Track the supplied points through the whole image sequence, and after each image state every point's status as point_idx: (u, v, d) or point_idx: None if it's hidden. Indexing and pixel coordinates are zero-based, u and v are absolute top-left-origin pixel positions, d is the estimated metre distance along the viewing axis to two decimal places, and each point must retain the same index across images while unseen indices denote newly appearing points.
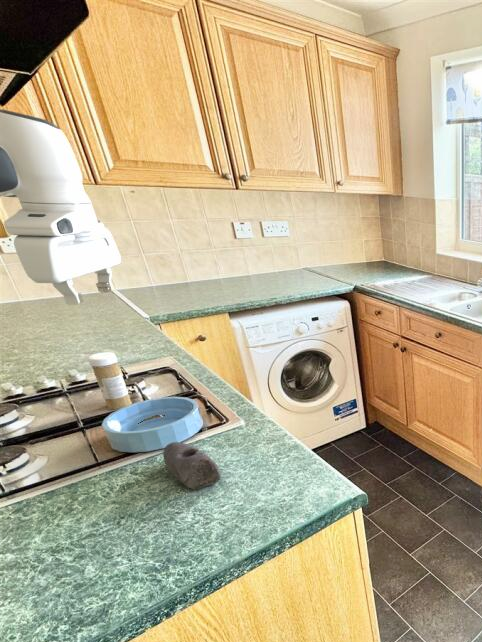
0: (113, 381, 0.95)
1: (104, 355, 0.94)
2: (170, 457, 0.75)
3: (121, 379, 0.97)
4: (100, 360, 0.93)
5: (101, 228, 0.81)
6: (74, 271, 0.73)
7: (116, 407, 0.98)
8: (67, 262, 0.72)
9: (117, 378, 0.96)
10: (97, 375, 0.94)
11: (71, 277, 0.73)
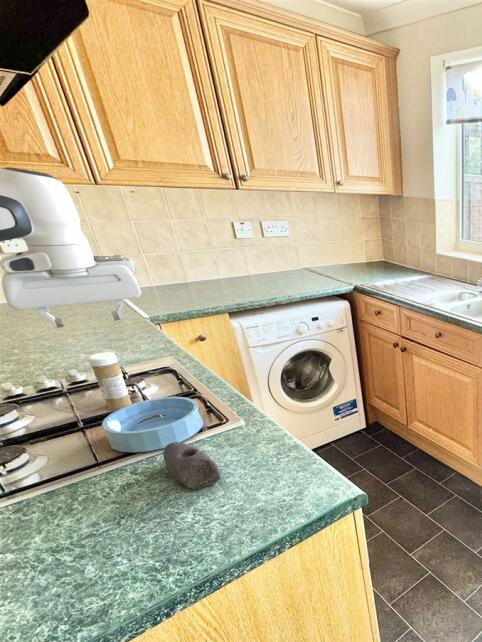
0: (113, 381, 0.95)
1: (104, 355, 0.94)
2: (170, 457, 0.75)
3: (121, 379, 0.97)
4: (100, 360, 0.93)
5: (112, 266, 0.89)
6: (45, 301, 0.84)
7: (116, 407, 0.98)
8: (35, 294, 0.83)
9: (117, 378, 0.96)
10: (97, 375, 0.94)
11: (38, 306, 0.84)
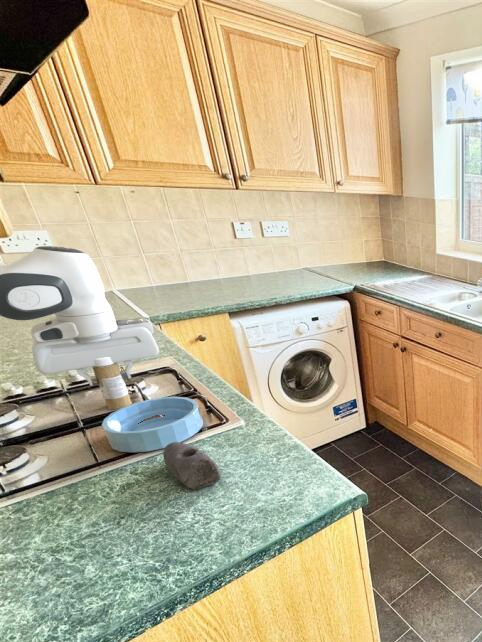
0: (113, 381, 0.95)
1: None
2: (170, 457, 0.75)
3: (121, 379, 0.97)
4: (100, 360, 0.93)
5: (133, 329, 0.95)
6: (70, 365, 0.90)
7: (116, 407, 0.98)
8: (62, 359, 0.89)
9: (117, 378, 0.96)
10: (97, 375, 0.94)
11: (65, 370, 0.90)
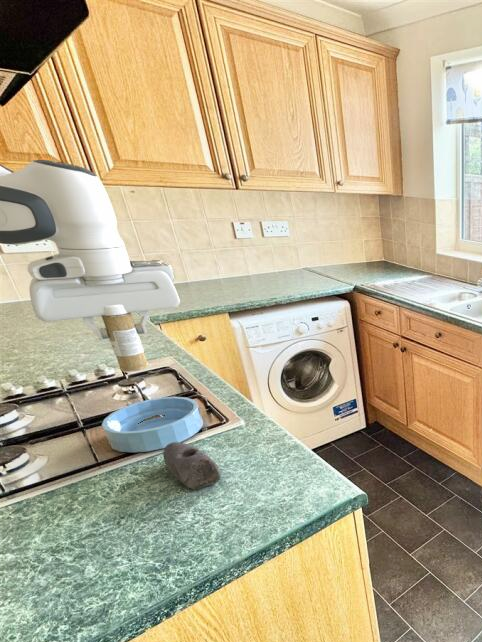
0: (126, 334, 0.80)
1: None
2: (170, 457, 0.75)
3: (136, 333, 0.82)
4: (112, 308, 0.77)
5: (150, 272, 0.80)
6: (76, 312, 0.74)
7: (130, 367, 0.82)
8: (66, 303, 0.73)
9: (131, 331, 0.81)
10: (107, 326, 0.78)
11: (69, 317, 0.74)
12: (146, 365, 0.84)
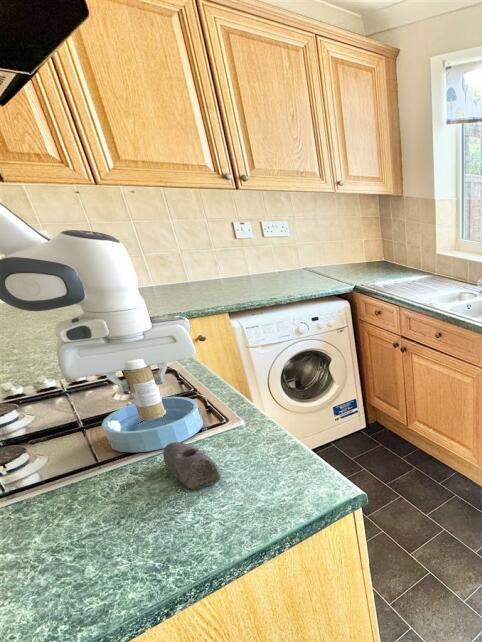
0: (146, 386, 0.84)
1: None
2: (170, 457, 0.75)
3: (155, 384, 0.86)
4: (133, 363, 0.81)
5: (169, 327, 0.84)
6: (99, 369, 0.78)
7: (149, 416, 0.86)
8: (90, 361, 0.77)
9: (150, 383, 0.84)
10: (128, 380, 0.82)
11: (93, 374, 0.78)
12: (164, 413, 0.88)
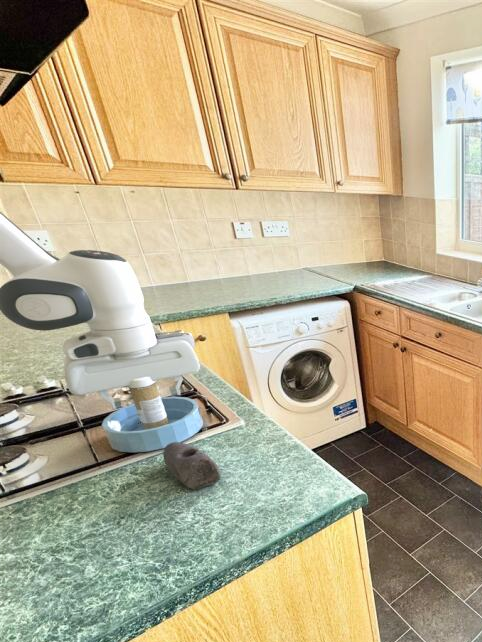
0: (152, 403, 0.86)
1: None
2: (170, 457, 0.75)
3: (160, 401, 0.87)
4: (139, 381, 0.83)
5: (174, 342, 0.85)
6: (106, 385, 0.80)
7: None
8: (97, 378, 0.79)
9: (156, 400, 0.86)
10: (134, 397, 0.84)
11: (99, 390, 0.79)
12: None
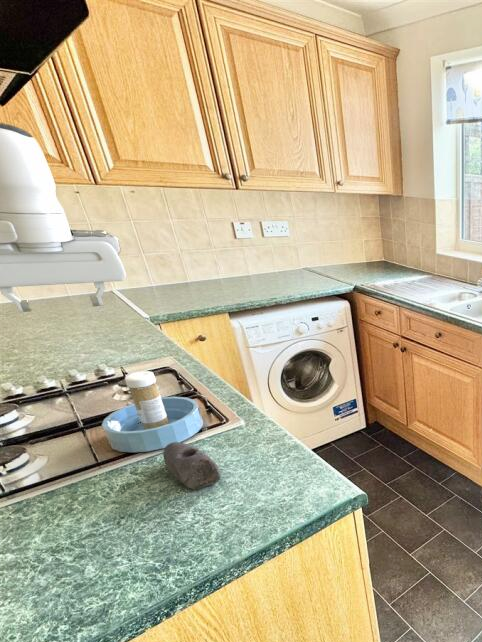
0: (152, 403, 0.86)
1: (142, 375, 0.84)
2: (170, 457, 0.75)
3: (160, 401, 0.87)
4: (139, 381, 0.83)
5: (93, 242, 0.76)
6: (8, 280, 0.71)
7: None
8: None
9: (156, 400, 0.86)
10: (134, 397, 0.84)
11: (0, 285, 0.70)
12: None
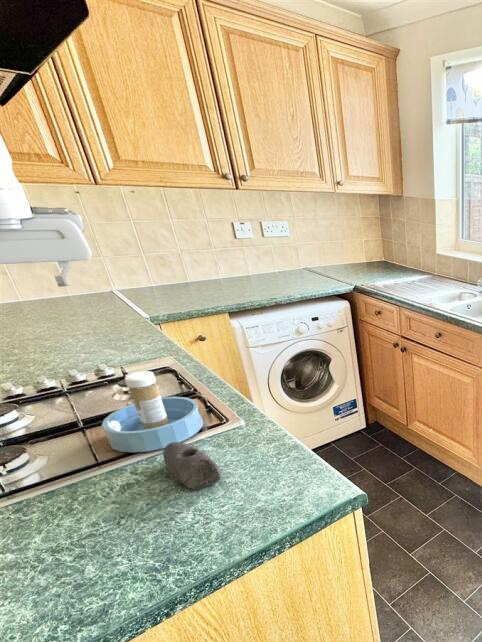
0: (152, 403, 0.86)
1: (142, 375, 0.84)
2: (170, 457, 0.75)
3: (160, 401, 0.87)
4: (139, 381, 0.83)
5: (54, 219, 0.75)
6: None
7: None
8: None
9: (156, 400, 0.86)
10: (134, 397, 0.84)
11: None
12: None
